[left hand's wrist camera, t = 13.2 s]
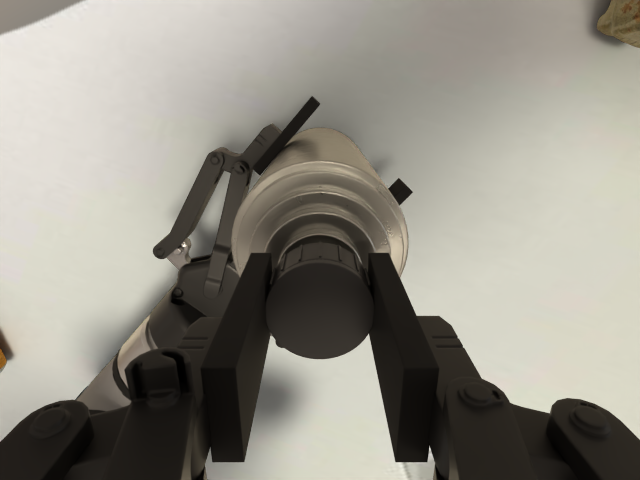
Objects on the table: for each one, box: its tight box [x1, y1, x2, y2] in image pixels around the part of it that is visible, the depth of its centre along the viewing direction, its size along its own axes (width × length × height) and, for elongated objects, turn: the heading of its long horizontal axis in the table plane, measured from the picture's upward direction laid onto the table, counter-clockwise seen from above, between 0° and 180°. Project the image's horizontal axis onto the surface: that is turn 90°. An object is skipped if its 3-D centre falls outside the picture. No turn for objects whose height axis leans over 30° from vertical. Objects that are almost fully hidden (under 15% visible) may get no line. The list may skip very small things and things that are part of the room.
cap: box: [265, 242, 374, 359], centre depth 14 cm, size 4×4×2 cm
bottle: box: [231, 128, 408, 277], centre depth 25 cm, size 8×8×24 cm
